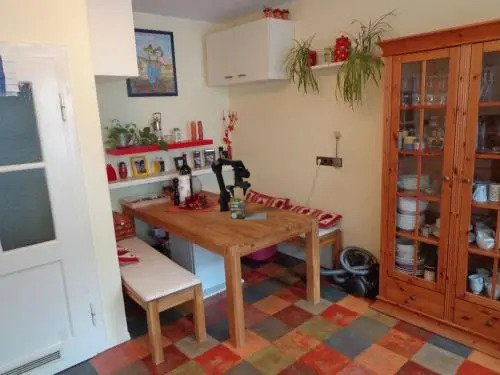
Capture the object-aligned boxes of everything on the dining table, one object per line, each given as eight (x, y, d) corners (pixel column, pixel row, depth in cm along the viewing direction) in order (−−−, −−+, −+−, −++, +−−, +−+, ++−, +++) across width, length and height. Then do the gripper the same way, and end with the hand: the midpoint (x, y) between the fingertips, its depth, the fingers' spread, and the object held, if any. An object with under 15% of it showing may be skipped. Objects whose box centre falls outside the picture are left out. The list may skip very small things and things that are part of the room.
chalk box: (246, 215, 278) (244, 196, 275) (242, 218, 269) (240, 199, 266) (234, 215, 281) (233, 196, 278) (230, 218, 272) (228, 199, 269)
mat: (244, 220, 267) (244, 219, 267) (245, 214, 282) (245, 213, 282) (266, 219, 266) (266, 219, 266) (266, 213, 281) (266, 213, 281)
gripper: (232, 180, 265) (233, 201, 269) (254, 177, 274) (254, 197, 278) (225, 177, 275) (226, 198, 278) (246, 174, 284) (247, 194, 287)
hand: (239, 197), depth 280 cm, fingers open, 9 cm apart
